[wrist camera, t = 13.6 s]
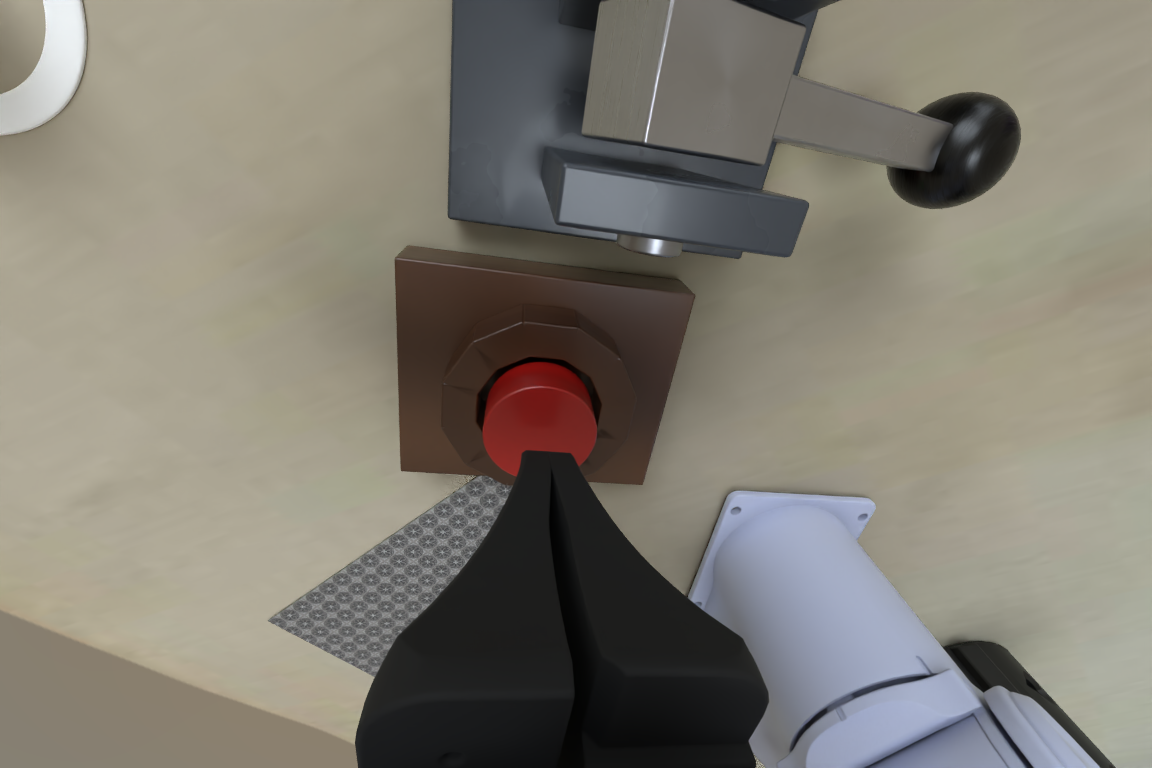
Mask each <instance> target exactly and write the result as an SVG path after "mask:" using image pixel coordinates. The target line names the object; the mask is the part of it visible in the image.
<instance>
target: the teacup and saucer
mask: <svg viewBox="0 0 1152 768" xmlns="http://www.w3.org/2000/svg"><path fill="white" fill-rule="evenodd" d="M43 3H44V9H45V18H46V35H45V43H44V48H43V52H42V55H41V58H40V60H39V62H38V64H37V66H36V68H35V69H34V71H33V72H32V74H31V75H30V76H29V77H28V78H27V79H26V80H25V81H24V82H23V83H22V84H20V85H19V86H17V87H16V88H14V89H12V90H10V91H8V92H5V93H2V94H0V135H10V134H16V133H21V132H25V131H28V130H31V129H34V128H36V127H39V126H41V125H43V124H44V123H46V122H48V121H49V120H51V119H52V118H54V117H55V116H56V115H57V114H58V113H60V112H61V111H62V110H63V109H64V107H65V106H66V105H67V104H68V103H69V101H70V100H71V98H72V97H73V95H74V93H75V92H76V90H77V88H78V85H79V83H80V80H81V77H82V74H83V70H84V66H85V60H86V51H87V30H86V20H85V13H84V7H83V2H82V0H43Z"/></svg>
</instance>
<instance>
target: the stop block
mask: <svg viewBox="0 0 1152 768" xmlns="http://www.w3.org/2000/svg"><path fill="white" fill-rule="evenodd" d="M395 286H396V321H397V357H398V392H399V427H400V462H401V471H408V472H426V473H443V474H461V475H478V476H488V477H490V478H492V479H494V480H496V481H497V482H499V483H501V484H503V485H508V486H513V484H514V482H515V479H516V476H513V475H511V474H509V473H507V472H506V471H504V470H502V469H501V468H500V467H499V466H497V465H496V464H495V463H494V462H493V460H492V459H491V458H490V456H489V455H488V453H487V451H486V449H485V446H484V443H483V435H482V431H483V424H484V417H485V410H486V403H487V398H488V394H489V392H490V390H491V388H492V386H493V385H494V383H495V382H496V381H497V380H498V379H499V377H501V376H502V375H503V374H504V373H505V372H507V371H509V370H510V369H512V368H514V367H516V366H519V365H522V364H525V363H530V362H549V363H554V364H557V365H560V366H563V367H565V368H567V369H569V370H570V371H572V372H573V373H575V374H576V375H577V376H578V377H579V378H580V379H581V380H582V381H583V383H584V384H585V386H586V388H587V390H588V392H589V395H590V399H591V403H592V407H593V411H594V415H595V420H596V425H597V437H596V442H595V445H594V447H593V450H592V452H591V453H590V455H589V456H588V458H587V459H586V460H585V461H584V462H583V463H582V464H581V465H580V466H579V468H580V470H581V472H582V474H583V475H584V477H585V479H586V481H587V482H601V483H619V484H636V485H643V482H644V479H645V475H646V472H647V468H648V464H649V461H650V457H651V454H652V450H653V446H654V443H655V439H656V436H657V432H658V428H659V425H660V421H661V418H662V414H663V410H664V407H665V403H666V400H667V396H668V392H669V389H670V385H671V382H672V378H673V374H674V371H675V367H676V364H677V360H678V356H679V353H680V349H681V346H682V342H683V338H684V335H685V331H686V328H687V324H688V320H689V317H690V313H691V310H692V306H693V302H694V299H695V294H694V293H693V292H692V291H691V290H690V289H689V288H688V287H687V286H686V285H685V284H684V283H683V282H682V281H680V280H673V279H665V278H657V277H649V276H642V275H634V274H626V273H618V272H611V271H603V270H595V269H587V268H579V267H572V266H564V265H556V264H548V263H541V262H533V261H525V260H517V259H509V258H502V257H494V256H486V255H478V254H470V253H463V252H455V251H447V250H439V249H432V248H424V247H416V246H407V247H406V248H405V249H404V250H403V251H401V252H400V253H399V254H398V255H397V256H396V257H395Z"/></svg>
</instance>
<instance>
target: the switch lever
mask: <svg viewBox="0 0 1152 768" xmlns="http://www.w3.org/2000/svg"><path fill="white" fill-rule="evenodd" d="M805 32H806V26H805V25H804V24H802V23H800V22H797V21H794V20H792V19H789V18H787V17H784V16H781V15H779V14H776V13H774V12H771V11H768V10H766V9H763V8H761V7H758V6H755V5H753V4H750V3H748V2H745V1H742V0H602V1H601V2H600V4H599V10H598V17H597V24H596V31H595V39H594V46H593V53H592V60H591V68H590V75H589V82H588V89H587V96H586V104H585V111H584V118H583V125H582V135H583V136H584V137H589V138H594V139H600V140H606V141H612V142H617V143H623V144H629V145H634V146H640V147H646V148H652V149H657V150H663V151H669V152H674V153H680V154H686V155H692V156H698V157H704V158H710V159H716V160H722V161H729V162H735V163H741V164H747V165H753V166H759V167H760V166H763V165H764V164H765V162H766V159H767V156H768V153H769V149H770V146H771V143H772V141H773V142H778V143H782V144H787V145H792V146H797V147H801V148H806V149H811V150H815V151H820V152H825V153H830V154H834V155H839V156H844V157H848V158H853V159H858V160H863V161H867V162H872V163H877V164H881V165H886V166H887V175H888V179H889V182H890V184H891V186H892V188H893V190H894V191H895V192H896V193H897V194H898V195H899V196H900V197H901V198H902V199H903V200H905V201H906V202H908V203H910V204H912V205H915V206H918V207H922V208H929V209H942V208H949V207H954V206H958V205H961V204H964V203H966V202H969V201H971V200H973V199H975V198H977V197H979V196H980V195H982V194H983V193H985V192H986V191H988V190H989V189H991V188H992V187H993V186H994V185H995V184H996V183H997V182H998V181H999V180H1000V179H1001V178H1002V177H1003V176H1004V175H1005V174H1006V172H1007V171H1008V169H1009V168H1010V167H1011V165H1012V163H1013V162H1014V160H1015V157H1016V155H1017V152H1018V149H1019V146H1020V140H1021V129H1020V124H1019V120H1018V118H1017V116H1016V114H1015V112H1014V110H1013V109H1012V108H1011V107H1010V106H1009V105H1008V104H1007V103H1006V102H1004V101H1003V100H1001V99H999V98H998V97H995V96H993V95H989V94H985V93H979V92H967V93H959V94H954V95H950V96H947V97H944V98H941V99H939V100H937V101H935V102H933V103H931V104H929V105H927V106H926V107H924V108H923V109H921V110H920V111H918V112H917V113H915V112H912V111H909V110H906V109H903V108H899V107H896V106H893V105H890V104H886V103H883V102H880V101H877V100H873V99H870V98H867V97H864V96H860V95H857V94H854V93H851V92H848V91H844V90H841V89H838V88H835V87H831V86H828V85H825V84H822V83H818V82H815V81H812V80H809V79H805V78H802V77H799V76H796V75H793V71H794V68H795V65H796V62H797V58H798V55H799V52H800V49H801V45H802V42H803V39H804V35H805Z"/></svg>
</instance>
